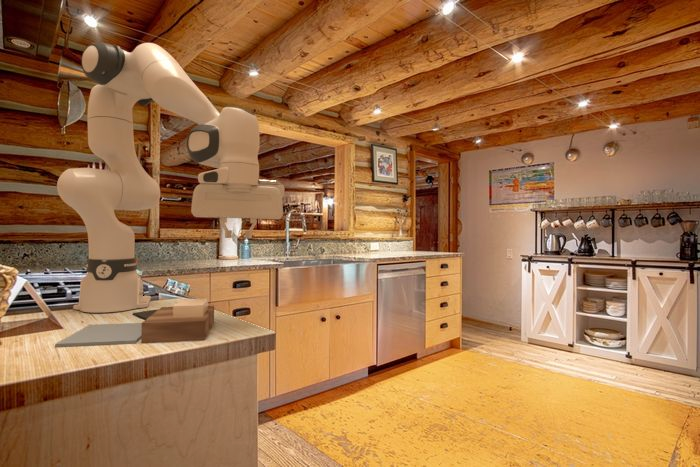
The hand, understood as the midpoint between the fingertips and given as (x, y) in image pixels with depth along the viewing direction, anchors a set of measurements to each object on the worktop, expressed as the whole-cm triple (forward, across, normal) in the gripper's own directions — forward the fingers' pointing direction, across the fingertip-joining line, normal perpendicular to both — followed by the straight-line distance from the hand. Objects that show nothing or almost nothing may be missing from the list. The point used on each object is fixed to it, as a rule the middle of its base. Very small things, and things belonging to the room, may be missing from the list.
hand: (238, 238), depth 88 cm
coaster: (+16, +10, 0) cm, 19 cm away
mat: (+21, +26, 0) cm, 33 cm away
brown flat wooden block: (+21, +12, 0) cm, 24 cm away
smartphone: (+22, +21, -16) cm, 34 cm away
